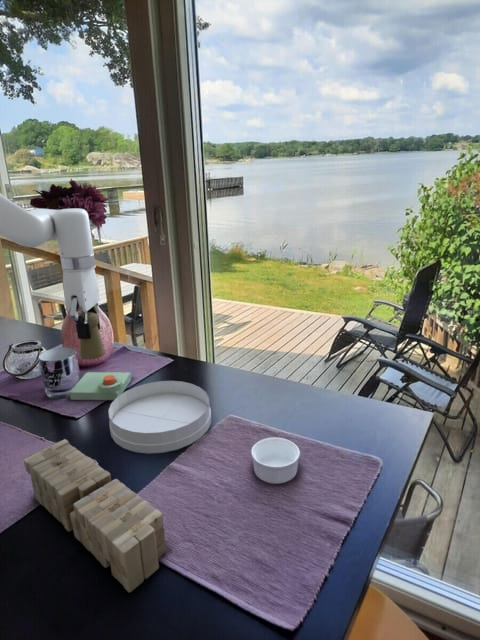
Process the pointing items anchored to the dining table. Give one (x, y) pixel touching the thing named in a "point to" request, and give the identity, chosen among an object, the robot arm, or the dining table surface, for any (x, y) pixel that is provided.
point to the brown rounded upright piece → (92, 340)
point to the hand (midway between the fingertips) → (89, 333)
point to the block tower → (99, 512)
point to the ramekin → (275, 460)
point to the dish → (159, 416)
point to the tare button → (109, 380)
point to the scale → (100, 386)
